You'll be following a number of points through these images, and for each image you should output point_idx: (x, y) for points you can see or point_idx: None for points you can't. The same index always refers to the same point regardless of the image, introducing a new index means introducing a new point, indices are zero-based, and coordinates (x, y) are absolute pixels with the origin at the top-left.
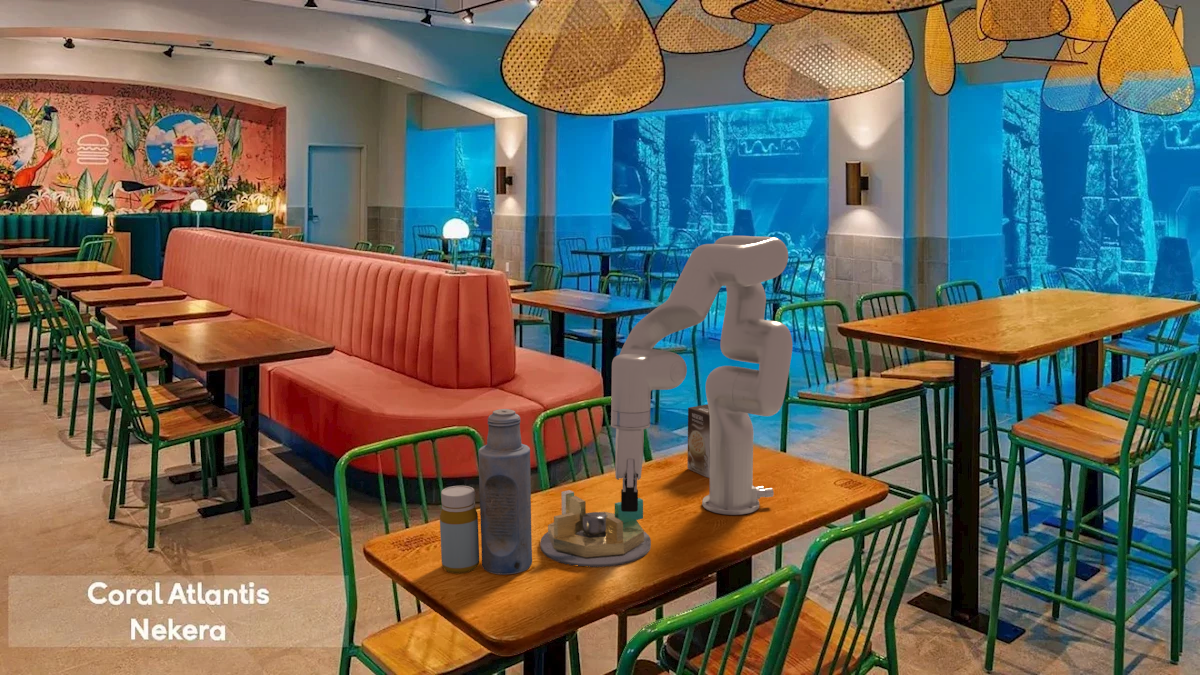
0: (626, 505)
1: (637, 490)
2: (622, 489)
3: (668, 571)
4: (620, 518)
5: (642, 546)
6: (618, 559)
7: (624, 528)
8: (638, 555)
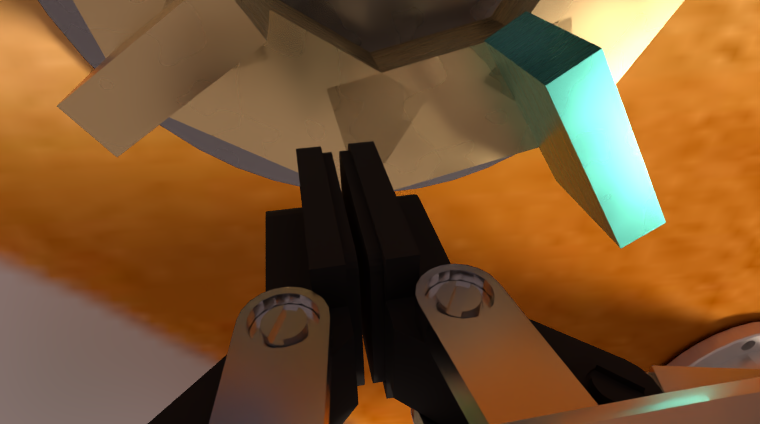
0: (266, 227)
1: (386, 393)
2: (412, 266)
3: (83, 268)
4: (505, 65)
5: None
6: (80, 39)
7: (401, 86)
8: (197, 144)
